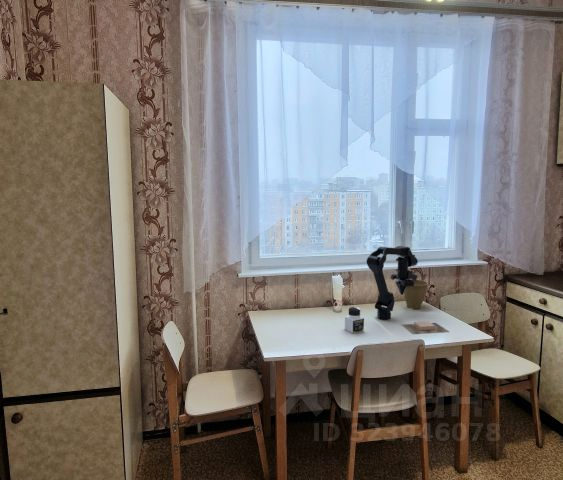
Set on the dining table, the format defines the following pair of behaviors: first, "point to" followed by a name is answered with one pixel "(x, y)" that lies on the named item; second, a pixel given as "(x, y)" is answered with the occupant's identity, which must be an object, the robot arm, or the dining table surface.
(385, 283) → the robot arm
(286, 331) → the dining table surface
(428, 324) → the tile
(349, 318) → the medicine bottle
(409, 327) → the board
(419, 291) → the plant pot
